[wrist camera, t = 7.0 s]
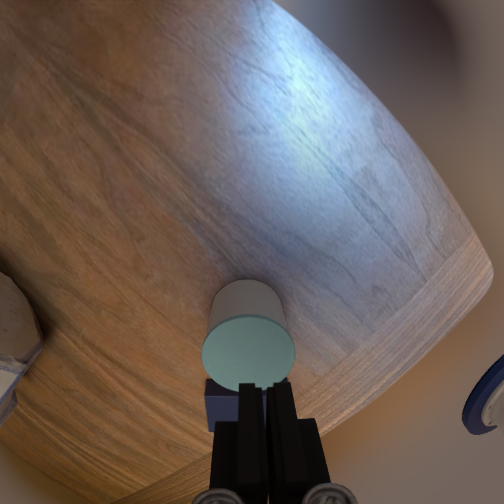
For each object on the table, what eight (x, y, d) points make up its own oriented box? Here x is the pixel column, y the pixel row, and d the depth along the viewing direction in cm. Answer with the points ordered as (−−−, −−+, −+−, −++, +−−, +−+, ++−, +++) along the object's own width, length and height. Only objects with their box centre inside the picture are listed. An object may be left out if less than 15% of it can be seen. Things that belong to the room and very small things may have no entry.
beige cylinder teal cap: (212, 313, 35) (205, 248, 28) (279, 313, 35) (290, 249, 28) (208, 404, 28) (195, 361, 21) (286, 403, 28) (304, 361, 21)
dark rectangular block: (286, 377, 35) (290, 394, 32) (283, 413, 36) (286, 430, 33) (206, 378, 34) (203, 395, 31) (209, 415, 36) (208, 432, 33)
